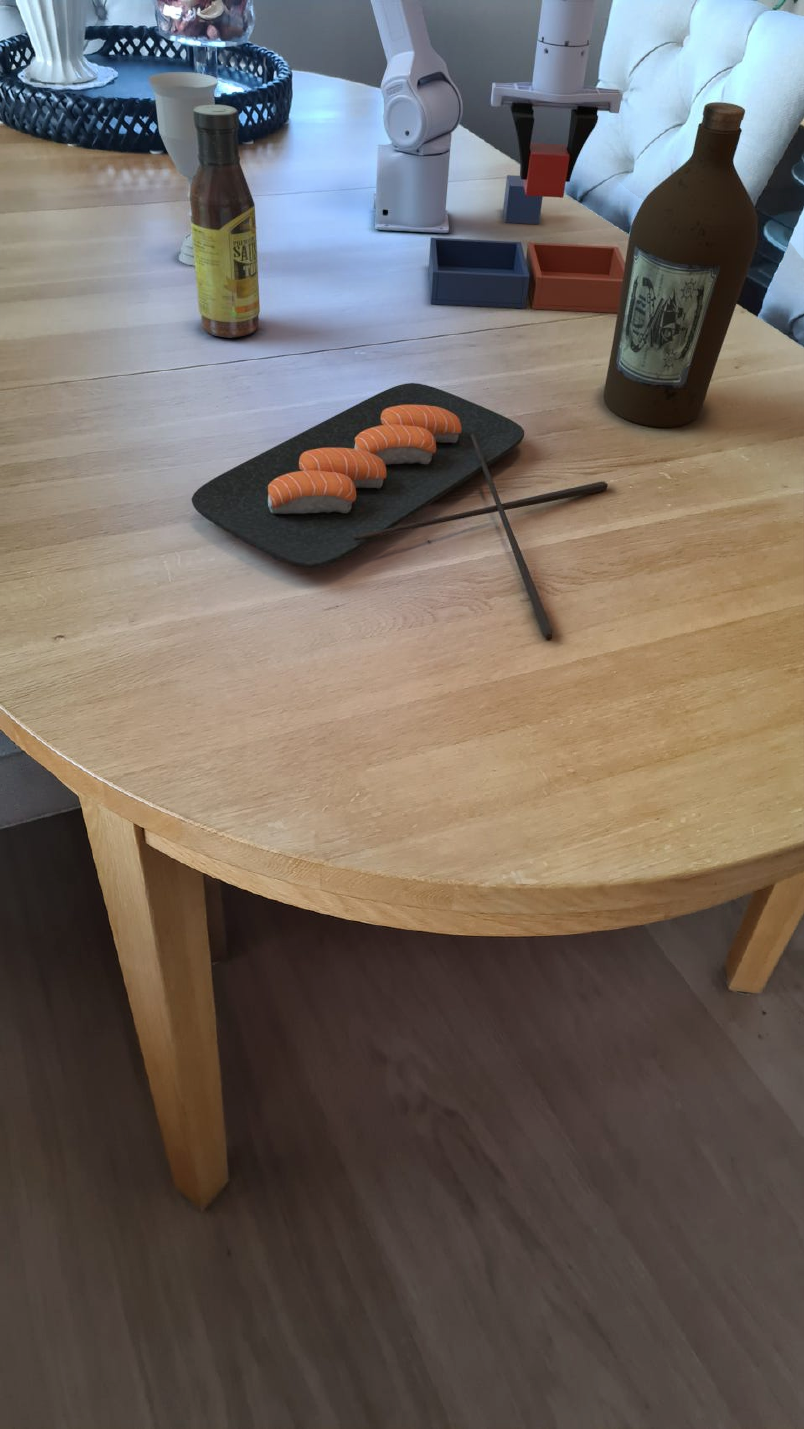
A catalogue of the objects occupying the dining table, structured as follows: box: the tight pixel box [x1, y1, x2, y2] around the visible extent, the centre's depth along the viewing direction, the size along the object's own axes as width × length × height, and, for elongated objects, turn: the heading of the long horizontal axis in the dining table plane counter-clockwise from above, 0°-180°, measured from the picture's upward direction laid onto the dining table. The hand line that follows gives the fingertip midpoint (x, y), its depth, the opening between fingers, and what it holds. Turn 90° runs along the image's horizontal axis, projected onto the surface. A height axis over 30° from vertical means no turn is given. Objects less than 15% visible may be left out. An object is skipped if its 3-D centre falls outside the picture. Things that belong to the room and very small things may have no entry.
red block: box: [523, 142, 570, 198], centre depth 114 cm, size 4×4×4 cm
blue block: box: [502, 174, 544, 225], centre depth 128 cm, size 4×4×4 cm
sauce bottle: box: [189, 104, 261, 339], centre depth 94 cm, size 7×6×20 cm
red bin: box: [525, 242, 626, 314], centre depth 111 cm, size 11×11×4 cm
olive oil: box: [603, 101, 759, 428], centre depth 84 cm, size 11×11×25 cm
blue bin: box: [428, 237, 530, 309], centre depth 110 cm, size 11×11×4 cm
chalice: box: [147, 71, 219, 267], centre depth 108 cm, size 7×7×18 cm
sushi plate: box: [191, 382, 609, 640], centre depth 76 cm, size 29×30×4 cm
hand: (545, 178), depth 115 cm, fingers closed on red block, 4 cm apart
